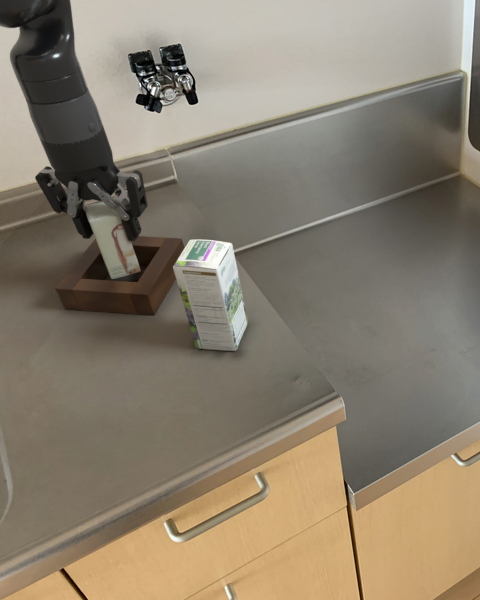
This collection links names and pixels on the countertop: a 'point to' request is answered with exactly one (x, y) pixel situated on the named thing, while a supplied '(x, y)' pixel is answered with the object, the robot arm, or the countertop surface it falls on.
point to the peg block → (119, 294)
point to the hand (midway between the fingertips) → (111, 236)
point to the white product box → (112, 240)
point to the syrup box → (211, 294)
